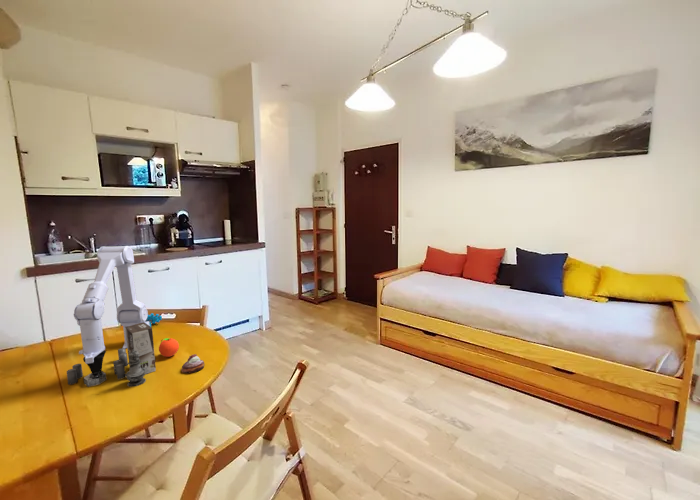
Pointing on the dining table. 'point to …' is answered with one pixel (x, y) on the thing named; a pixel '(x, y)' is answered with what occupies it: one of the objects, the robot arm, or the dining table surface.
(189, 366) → the pastry
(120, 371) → the spacers
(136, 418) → the dining table surface
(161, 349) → the clementine
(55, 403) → the dining table surface
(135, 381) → the grey tall stone piece
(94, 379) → the nut
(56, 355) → the dining table surface
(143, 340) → the coffee box
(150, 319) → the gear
